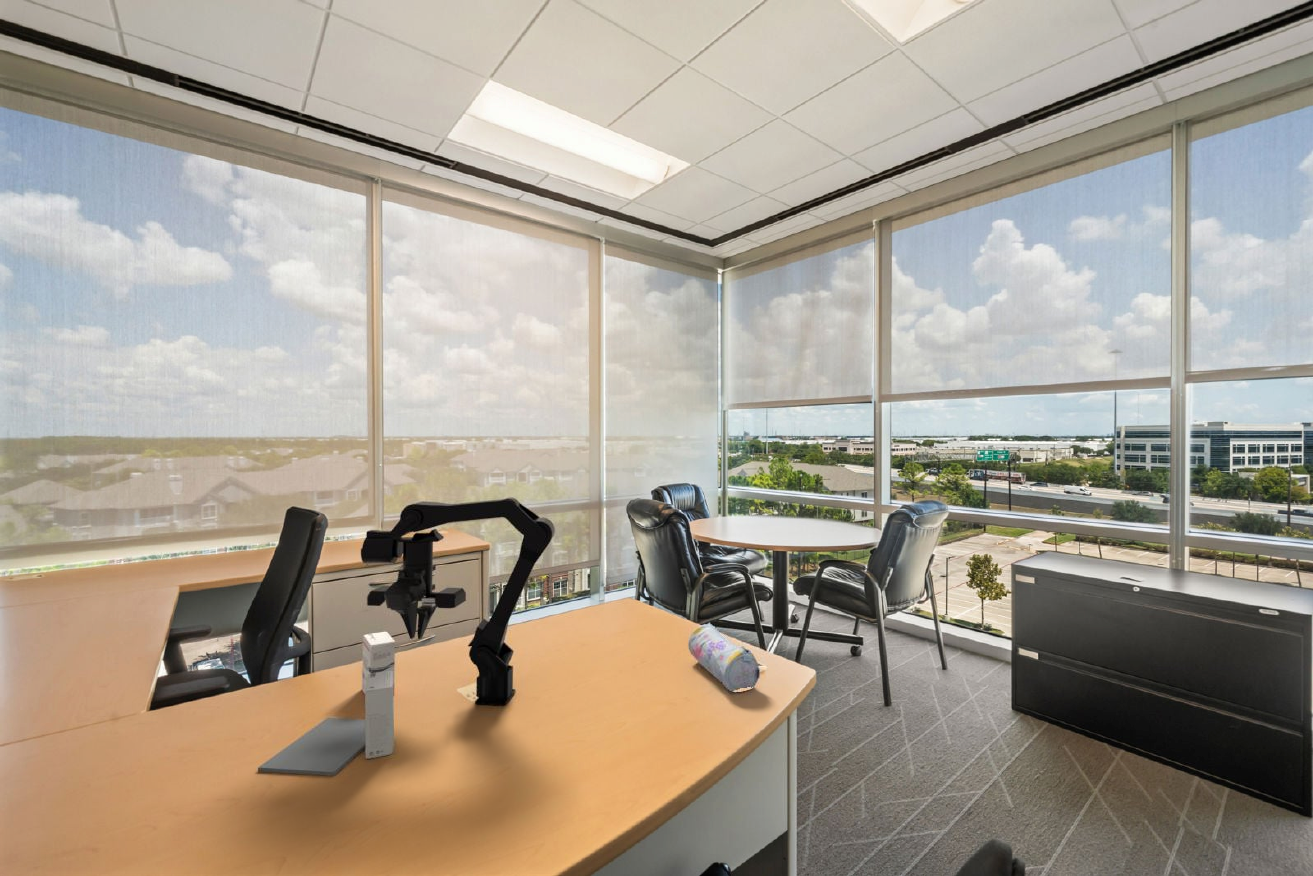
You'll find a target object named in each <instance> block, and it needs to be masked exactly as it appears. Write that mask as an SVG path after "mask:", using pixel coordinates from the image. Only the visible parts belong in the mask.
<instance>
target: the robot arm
mask: <svg viewBox="0 0 1313 876" xmlns="http://www.w3.org/2000/svg"><path fill="white" fill-rule="evenodd" d="M496 518H498V519H499V518H504V519H505V520H507V521H508V522H509V523H510V524H511V525H512V526H513V527H514V529H515V530H517V531H518V532H519V533H520V534H521V535H522V536H523V537H522V542H521V545H520V549H519V554H518V558H517V560H516V563H515V565H514V567H513V569H512V570H511V574H510V576H509V578H508V580H507V583H506V585H505V586H504V589H503V591H502V592H501V593H502V594H501V595H500V598H499V600H498V601H497V604H496V606H495V608H494V611H493V612H492V614H491V617H490V619H489V620H487V619H485V618H482V619H481V621H480V622H479V624H478V625H477V627H476V629H475V632H474V635H473V637H472V639H471V641H469V643H468V644H467V646H468V647H469V652H468V656H469V659H470V661H471V662H472V664H473V665H475V666H476V668H477V671H478V676H476V687H475V689H476V692H475V696H476V697H477V699H475V701H474V704H475V705H486V706H487V705H488V706H506V705H507V703H508V702H509V701H510V700H511V699H512V697H513V696H514V694H516V691H517V690H516V689H515V688H513V687H514V665H510V664H509V663H510V662H511V660H512V658H513V655H514V650H513V648H511V646H509V645H508V644H507V643H506V642H505V639H506V635H507V632H508V627H509V622H510V620H511V617H512V615H513V613H514V610H515V608H516V606H517V604H518V602H519V599H520V598H521V595H522V592H523V590H524V589H525V586H526V585H527V582H528V579H529V577H530V575H531V573H532V571H533V569H534V566H535V565H536V563H537V562H538V560H539V559H540V558H541V557H542V555H543V553H544V552H545V550H546V549H547V547H548V546H549V545H550V543H551V541H552V539H553V537H554V536H555V532H556V531H555V530H556V529H555V525H554V523H553V521H551V520H550V519H549V518H547V517H540V516H539V515H537V514H536V513H535V512H534V511H533V510H530V508H528V507H526V506H524V505H523V504H522V503H521V502H520V501H518V499H517V498H515V497H510V496H509V497H506V498H501V499H499V498H498V499H492V500H490V499H489V500H482V501H481V500H480V501H470V502H460V503H445V502H437V501H426V500H425V501H424V500H423V501H419V502H416V503H411V504H408V505H406V506H405V507H404V508H403V509H402V510H401V513H400V515H399V521H398V522H397V523H396V524H395V525H394V527H393V528H392V529H391V530H378V529H370V530H367V531H366V533H365V535H366V537H365V538H364V540H363V544H362V546H361V547H362V548H360V558H361V562H362V563H363V564H395V563H396V562H397V561H398V559H401V558H402V569H399V570H398V574H397V580H396V581H394V582H393V583H392V584H391V585H381V586H379V587H377V588H374V589H372V590H370V591H369V592H368V594H367V596H366V606H367V607H374V606H375V607H381V606H382V605H383V604H384V603H385V605H386V608H387V609H390V610H391V611H395V612H397V614H399V615H400V616H401V619H402V622H403V623H404V626H405V628H406V631H407V634H408V637H409V639H411V640H412V639H414V638H415V637H416V632H417V640H421V639H422V638H423V637H424V634H425V633H426V632H425V631H426V630H427V627H428V625H429V622H430V621H431V618H432V617H433V615H434V613H435V611H436V610H437V608H438V609H455V608H457V607H458V606H460V605H461V604H464V603H465V602H466V601H467V593H466V591H465V589H464V588H463V587H446V588H444V589H442V590H441V591H434V590H435V589H436V584H433V571H436V569H437V567H436V564H434V563H433V562H434V561H433V560H434V559H433V558H434V543H438V542H440V541H441V540H443V539H444V538H445V537H444V535H442V534H441V533H440V532H439V531H438V530H437V529H436V528H435V527H438V526H442V525H445V524H450V523H458V522H459V523H460V522H469V521H477V520H480V521H481V520H489V519H496ZM432 528H433V529H432ZM428 529H431V530H430V532H422V531H425V530H428ZM411 533H414V534H413V535H412V536H407V537H406V535H408V534H411ZM404 536H405V537H404ZM419 602H421V605H420V606H419Z"/></svg>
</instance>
